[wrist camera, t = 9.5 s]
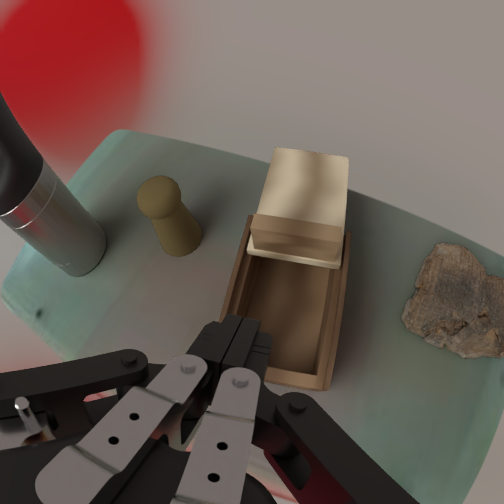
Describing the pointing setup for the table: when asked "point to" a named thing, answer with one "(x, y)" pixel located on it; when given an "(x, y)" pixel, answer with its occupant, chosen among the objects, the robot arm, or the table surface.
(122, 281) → the table surface
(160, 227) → the tan pawn
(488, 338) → the clay tablet
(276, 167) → the cover plate
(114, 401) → the robot arm
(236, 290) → the lid box
